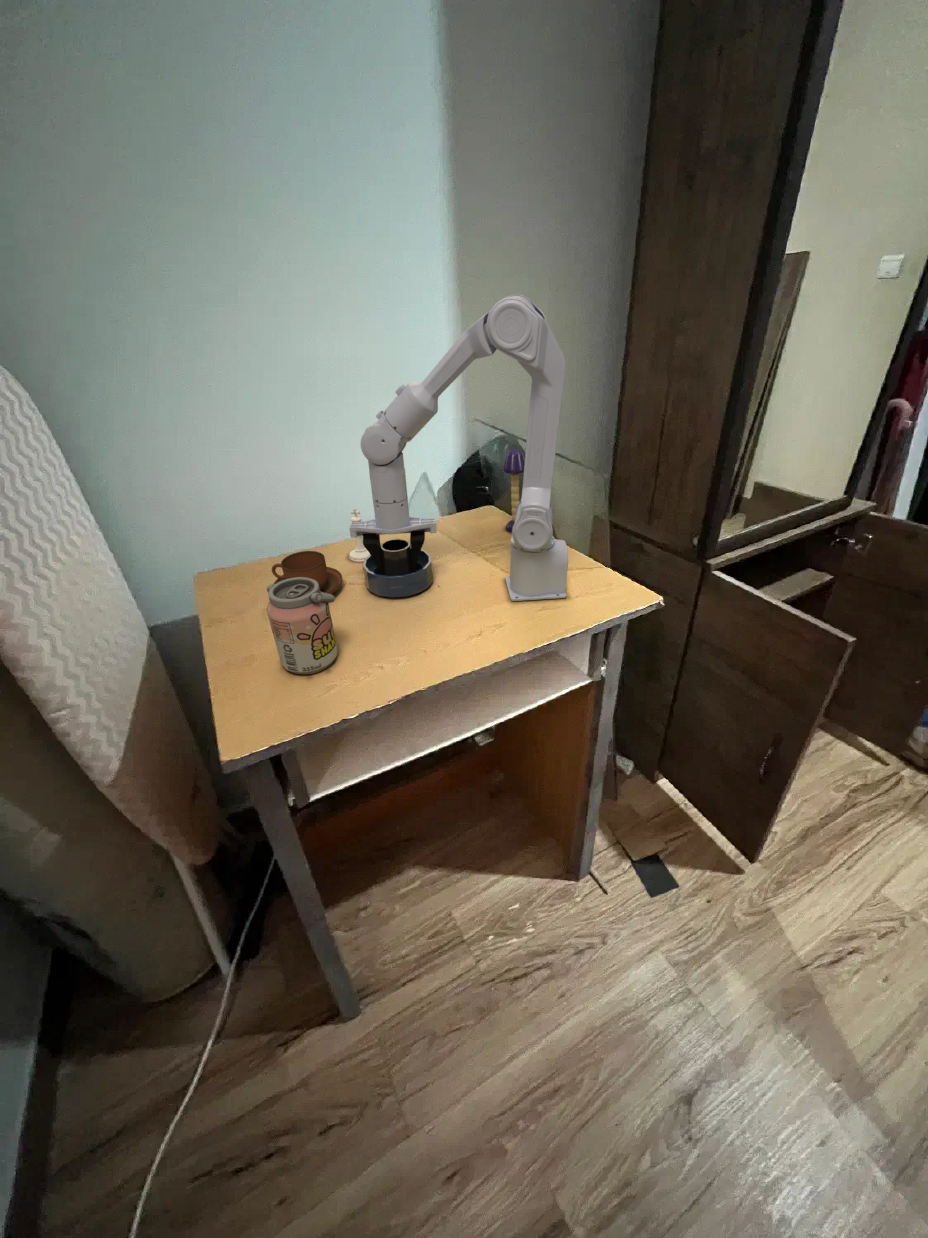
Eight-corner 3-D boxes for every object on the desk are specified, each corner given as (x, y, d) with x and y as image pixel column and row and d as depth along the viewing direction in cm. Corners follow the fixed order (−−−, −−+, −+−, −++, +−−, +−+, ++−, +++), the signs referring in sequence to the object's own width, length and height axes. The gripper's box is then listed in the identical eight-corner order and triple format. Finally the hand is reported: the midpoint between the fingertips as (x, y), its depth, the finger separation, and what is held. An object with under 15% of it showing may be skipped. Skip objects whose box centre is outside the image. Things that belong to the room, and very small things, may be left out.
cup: (413, 572, 97) (410, 537, 93) (413, 586, 93) (409, 550, 89) (385, 574, 97) (381, 539, 93) (383, 588, 93) (379, 552, 89)
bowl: (432, 565, 101) (430, 544, 98) (433, 597, 91) (431, 574, 88) (369, 569, 100) (366, 548, 98) (363, 602, 90) (359, 579, 88)
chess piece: (369, 562, 103) (362, 514, 97) (345, 560, 104) (337, 512, 98) (377, 551, 107) (371, 504, 101) (354, 550, 108) (347, 503, 102)
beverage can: (308, 634, 82) (292, 566, 76) (354, 645, 80) (341, 575, 73) (269, 669, 75) (247, 597, 69) (318, 683, 72) (300, 609, 66)
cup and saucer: (271, 613, 88) (263, 581, 85) (277, 579, 98) (270, 549, 95) (344, 603, 90) (338, 571, 87) (343, 571, 100) (338, 541, 96)
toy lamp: (502, 532, 113) (502, 453, 104) (504, 523, 117) (505, 447, 107) (524, 533, 112) (527, 454, 103) (526, 524, 116) (528, 447, 107)
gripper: (433, 487, 90) (438, 558, 98) (348, 491, 90) (359, 563, 97) (434, 502, 84) (439, 576, 92) (343, 506, 84) (355, 581, 91)
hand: (398, 570), depth 94 cm, fingers closed on cup, 5 cm apart
